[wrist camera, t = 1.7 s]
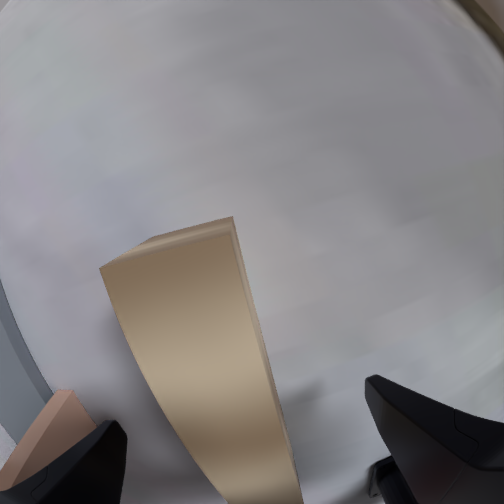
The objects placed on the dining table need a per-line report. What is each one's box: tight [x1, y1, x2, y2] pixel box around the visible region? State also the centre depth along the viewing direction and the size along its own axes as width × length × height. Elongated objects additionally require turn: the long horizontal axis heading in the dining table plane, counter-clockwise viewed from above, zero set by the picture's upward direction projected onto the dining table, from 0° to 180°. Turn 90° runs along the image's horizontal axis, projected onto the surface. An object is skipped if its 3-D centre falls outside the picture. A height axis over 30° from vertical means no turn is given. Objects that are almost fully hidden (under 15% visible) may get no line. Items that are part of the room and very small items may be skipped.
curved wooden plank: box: [99, 216, 304, 504], centre depth 9 cm, size 12×3×4 cm, turn 13°
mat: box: [0, 281, 53, 445], centre depth 10 cm, size 15×9×1 cm, turn 13°
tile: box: [0, 390, 97, 491], centre depth 8 cm, size 6×2×8 cm, turn 13°
